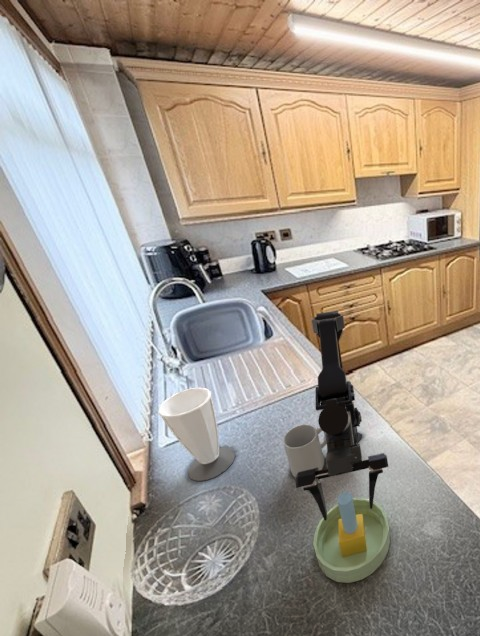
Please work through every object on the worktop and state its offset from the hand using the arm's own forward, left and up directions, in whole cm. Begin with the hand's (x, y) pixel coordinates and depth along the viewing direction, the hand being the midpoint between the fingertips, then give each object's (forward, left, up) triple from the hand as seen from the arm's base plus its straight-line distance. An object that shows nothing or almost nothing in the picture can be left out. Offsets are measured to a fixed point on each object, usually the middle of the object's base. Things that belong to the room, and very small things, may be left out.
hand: (348, 514), depth 71 cm
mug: (-13, -22, -9) cm, 27 cm away
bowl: (+1, +1, -8) cm, 8 cm away
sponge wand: (+1, +1, -8) cm, 8 cm away
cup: (-2, -48, -9) cm, 49 cm away
